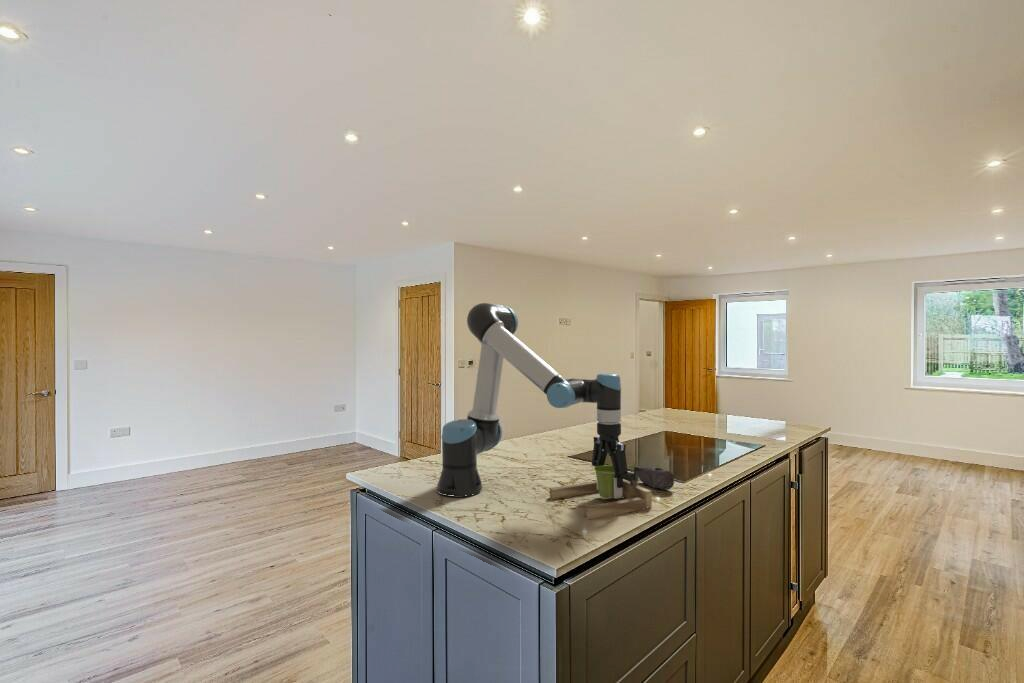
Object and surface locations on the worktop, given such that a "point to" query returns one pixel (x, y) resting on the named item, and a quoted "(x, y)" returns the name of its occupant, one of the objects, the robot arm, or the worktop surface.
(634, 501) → the bay
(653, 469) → the perforated stone tool
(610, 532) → the worktop surface
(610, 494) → the plant pot
